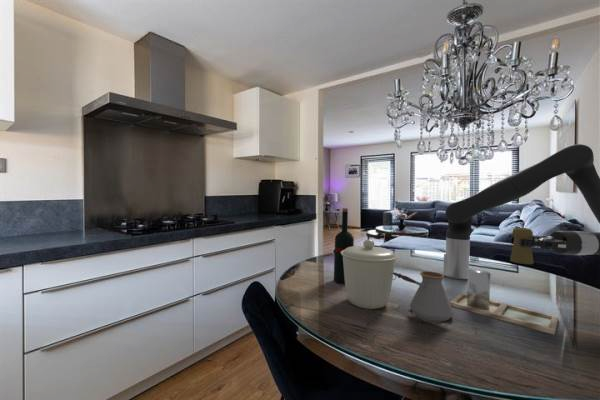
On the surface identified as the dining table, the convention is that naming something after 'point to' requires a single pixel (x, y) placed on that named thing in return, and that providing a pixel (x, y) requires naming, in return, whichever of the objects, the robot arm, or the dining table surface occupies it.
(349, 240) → the wine bottle
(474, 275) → the clear glass tumbler
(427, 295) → the coffee pot
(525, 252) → the olive brown pepper mill
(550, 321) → the wooden tray
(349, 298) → the canister
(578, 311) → the dining table surface
